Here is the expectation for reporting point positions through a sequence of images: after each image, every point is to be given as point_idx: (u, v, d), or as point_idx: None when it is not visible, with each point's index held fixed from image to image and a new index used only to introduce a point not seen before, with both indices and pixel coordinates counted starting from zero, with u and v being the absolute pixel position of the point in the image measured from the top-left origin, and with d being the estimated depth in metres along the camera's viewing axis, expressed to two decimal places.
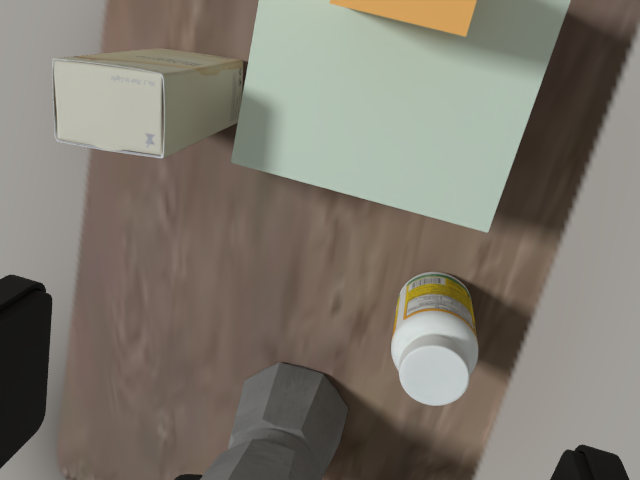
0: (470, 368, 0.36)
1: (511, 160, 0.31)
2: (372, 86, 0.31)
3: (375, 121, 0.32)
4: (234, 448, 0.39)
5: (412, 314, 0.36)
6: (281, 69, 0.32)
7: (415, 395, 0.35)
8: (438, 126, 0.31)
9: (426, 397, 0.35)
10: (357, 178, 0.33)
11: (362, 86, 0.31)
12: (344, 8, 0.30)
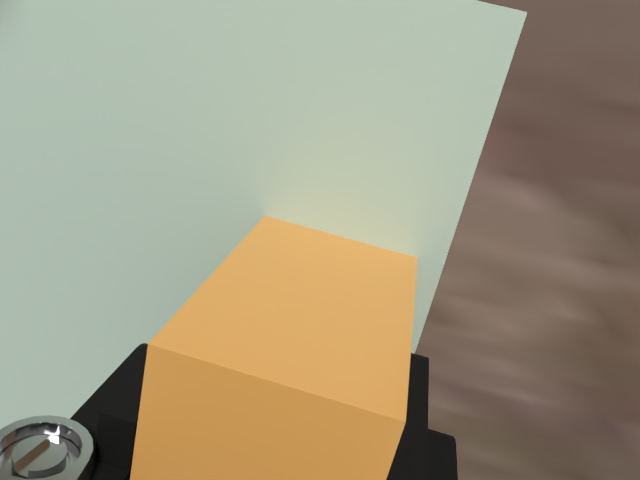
0: None
1: None
2: (89, 274, 0.12)
3: (13, 277, 0.13)
4: None
5: None
6: (95, 26, 0.11)
7: None
8: (31, 407, 0.14)
9: None
10: None
11: (85, 250, 0.12)
12: (262, 213, 0.11)
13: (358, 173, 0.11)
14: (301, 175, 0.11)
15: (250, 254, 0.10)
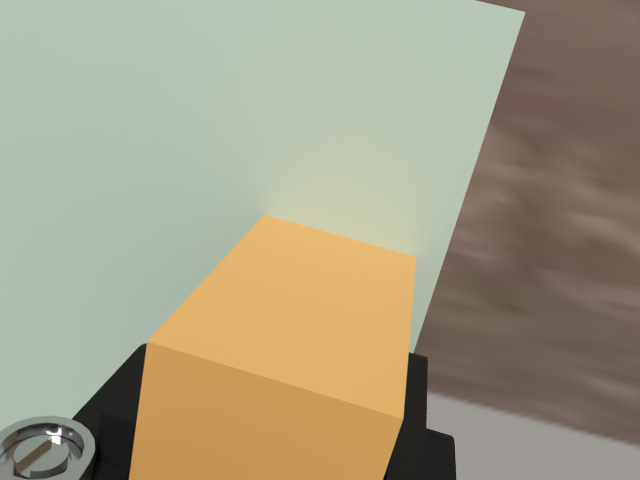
0: None
1: None
2: (89, 273, 0.13)
3: (14, 276, 0.13)
4: None
5: None
6: (95, 25, 0.11)
7: None
8: (31, 405, 0.14)
9: None
10: None
11: (85, 249, 0.12)
12: (261, 212, 0.11)
13: (357, 172, 0.11)
14: (300, 174, 0.11)
15: (249, 253, 0.10)
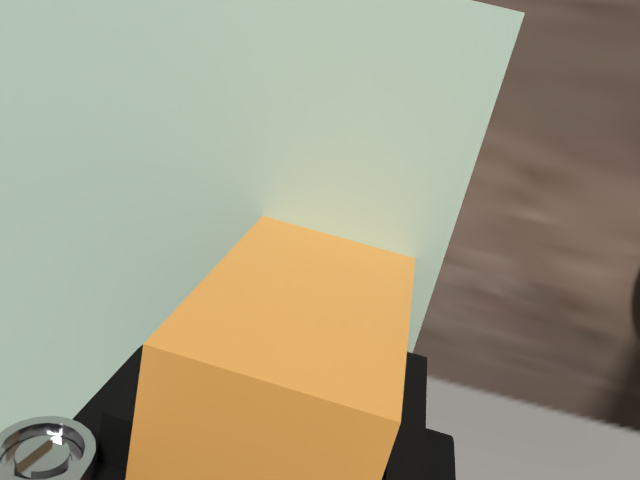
0: None
1: None
2: (86, 273, 0.12)
3: (11, 277, 0.13)
4: None
5: None
6: (92, 26, 0.11)
7: None
8: (29, 406, 0.14)
9: None
10: None
11: (83, 250, 0.12)
12: (260, 213, 0.11)
13: (356, 173, 0.11)
14: (299, 175, 0.11)
15: (247, 254, 0.10)
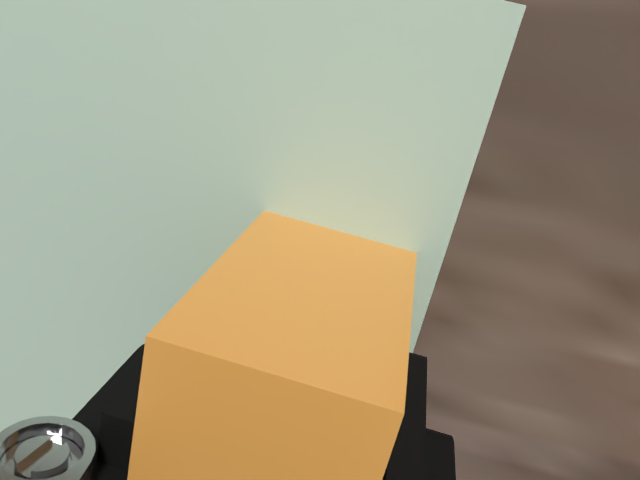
0: None
1: None
2: (87, 269, 0.12)
3: (12, 273, 0.13)
4: None
5: None
6: (94, 21, 0.11)
7: None
8: (30, 403, 0.14)
9: None
10: None
11: (84, 246, 0.12)
12: (261, 208, 0.11)
13: (357, 168, 0.11)
14: (300, 170, 0.11)
15: (248, 248, 0.10)
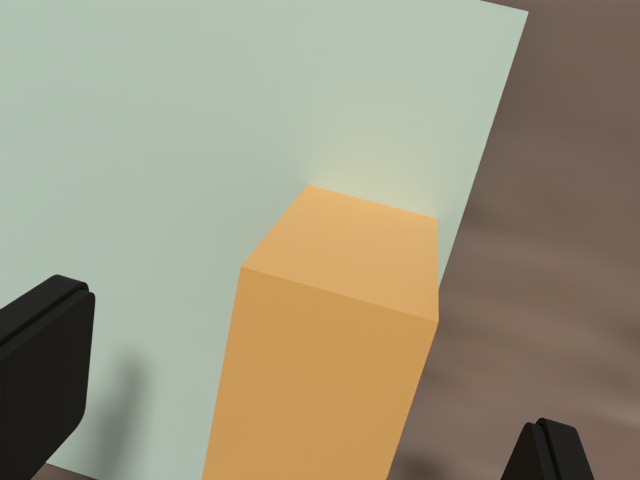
0: None
1: (64, 466, 0.18)
2: (154, 238, 0.15)
3: (87, 242, 0.15)
4: None
5: None
6: (167, 25, 0.13)
7: None
8: (98, 357, 0.16)
9: None
10: None
11: (151, 217, 0.14)
12: (305, 182, 0.13)
13: (387, 147, 0.13)
14: (339, 149, 0.13)
15: (302, 211, 0.12)
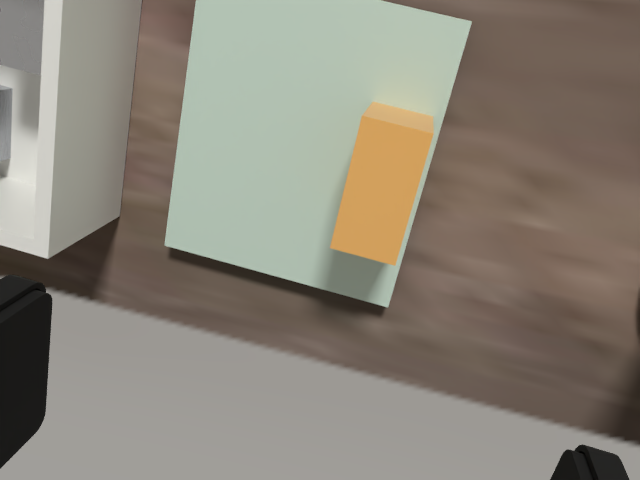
0: None
1: (234, 263, 0.33)
2: (295, 130, 0.30)
3: (260, 134, 0.30)
4: None
5: None
6: (310, 27, 0.28)
7: None
8: (260, 197, 0.31)
9: None
10: (200, 115, 0.31)
11: (295, 120, 0.30)
12: (371, 100, 0.29)
13: (410, 82, 0.28)
14: (388, 84, 0.28)
15: (375, 107, 0.27)
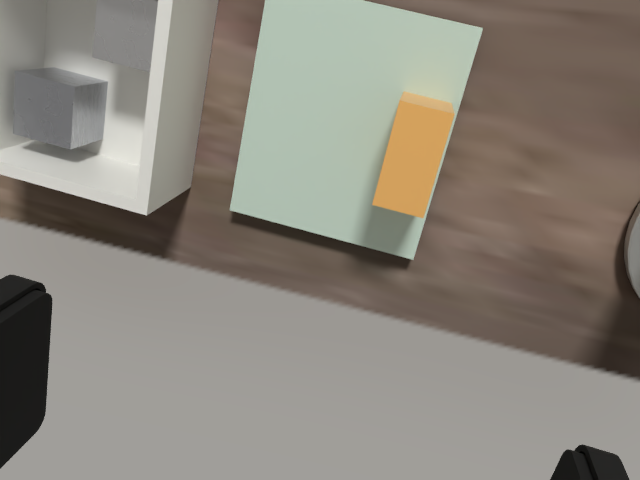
0: None
1: (287, 224, 0.40)
2: (340, 115, 0.37)
3: (312, 118, 0.38)
4: None
5: None
6: (354, 32, 0.36)
7: None
8: (310, 169, 0.39)
9: None
10: (263, 103, 0.38)
11: (340, 106, 0.37)
12: (402, 90, 0.36)
13: (434, 76, 0.36)
14: (416, 77, 0.36)
15: (406, 95, 0.34)
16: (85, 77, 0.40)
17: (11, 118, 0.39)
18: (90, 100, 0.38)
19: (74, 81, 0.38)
